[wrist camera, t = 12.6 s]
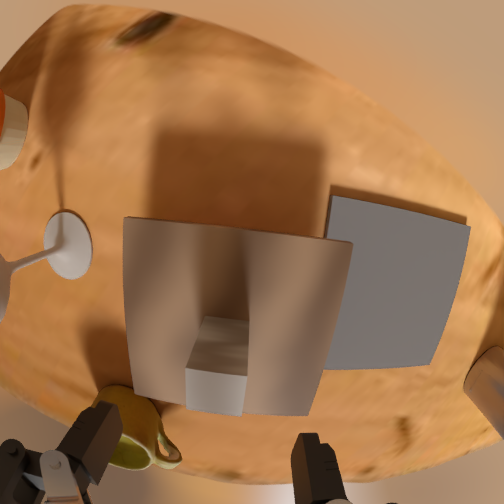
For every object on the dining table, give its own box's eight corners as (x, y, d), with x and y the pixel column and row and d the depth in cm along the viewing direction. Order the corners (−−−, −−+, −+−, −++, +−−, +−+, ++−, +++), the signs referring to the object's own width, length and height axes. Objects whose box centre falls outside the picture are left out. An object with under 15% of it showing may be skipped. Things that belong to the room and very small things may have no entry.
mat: (466, 225, 23) (470, 226, 22) (426, 361, 27) (429, 364, 26) (330, 195, 23) (333, 195, 22) (298, 364, 26) (299, 368, 26)
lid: (349, 241, 18) (397, 269, 11) (306, 409, 21) (318, 469, 14) (128, 216, 17) (70, 231, 11) (137, 388, 21) (109, 441, 14)
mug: (80, 413, 27) (67, 458, 18) (103, 362, 28) (89, 405, 19) (157, 446, 31) (163, 494, 22) (186, 402, 32) (199, 449, 23)
